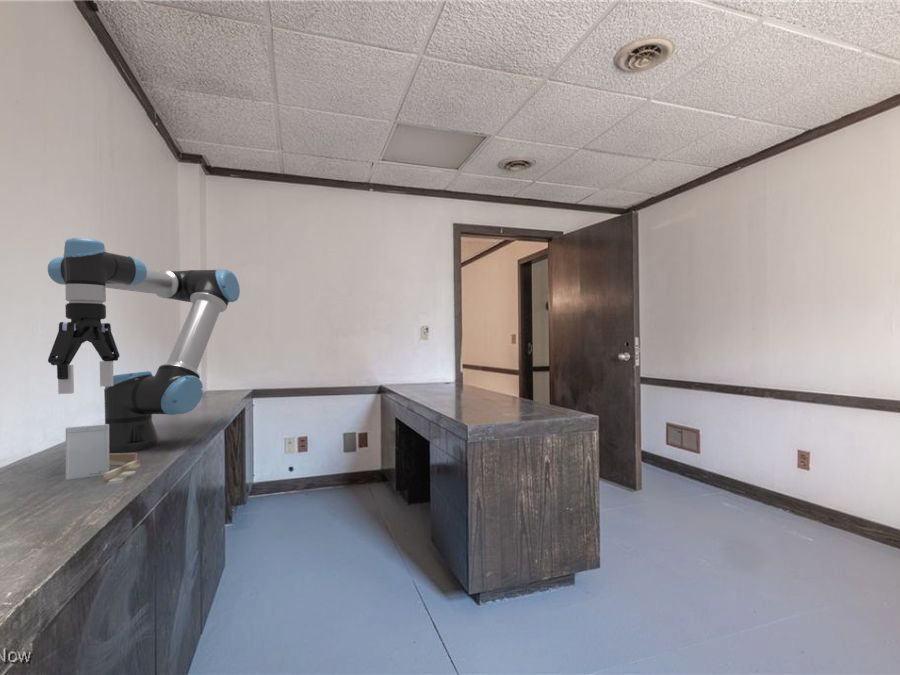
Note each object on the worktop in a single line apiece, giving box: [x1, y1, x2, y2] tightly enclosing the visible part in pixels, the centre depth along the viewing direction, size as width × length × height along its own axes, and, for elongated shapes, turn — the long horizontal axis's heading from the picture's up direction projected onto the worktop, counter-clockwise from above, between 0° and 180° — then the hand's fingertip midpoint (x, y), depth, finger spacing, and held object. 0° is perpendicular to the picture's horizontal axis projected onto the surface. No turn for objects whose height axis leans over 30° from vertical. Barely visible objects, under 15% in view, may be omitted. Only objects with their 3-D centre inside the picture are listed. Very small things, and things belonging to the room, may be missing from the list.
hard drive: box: [65, 423, 110, 481], centre depth 105 cm, size 2×8×12 cm, turn 119°
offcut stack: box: [106, 470, 137, 486], centre depth 102 cm, size 8×3×1 cm, turn 11°
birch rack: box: [103, 452, 142, 483], centre depth 107 cm, size 16×13×3 cm
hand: (87, 389), depth 104 cm, fingers open, 13 cm apart
